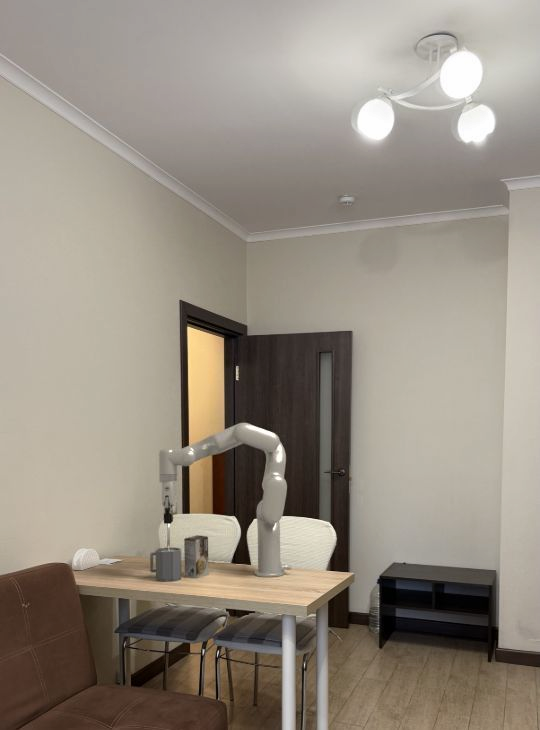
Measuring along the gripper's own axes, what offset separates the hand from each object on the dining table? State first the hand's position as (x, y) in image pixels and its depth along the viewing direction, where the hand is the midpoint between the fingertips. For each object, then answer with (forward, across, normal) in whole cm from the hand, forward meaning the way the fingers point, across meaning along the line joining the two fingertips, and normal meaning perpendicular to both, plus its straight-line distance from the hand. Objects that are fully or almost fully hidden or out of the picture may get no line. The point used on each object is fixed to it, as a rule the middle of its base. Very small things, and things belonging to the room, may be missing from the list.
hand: (168, 522), depth 290 cm
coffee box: (+23, +5, -11) cm, 27 cm away
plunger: (+12, 0, 0) cm, 12 cm away
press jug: (+23, 0, +1) cm, 23 cm away
